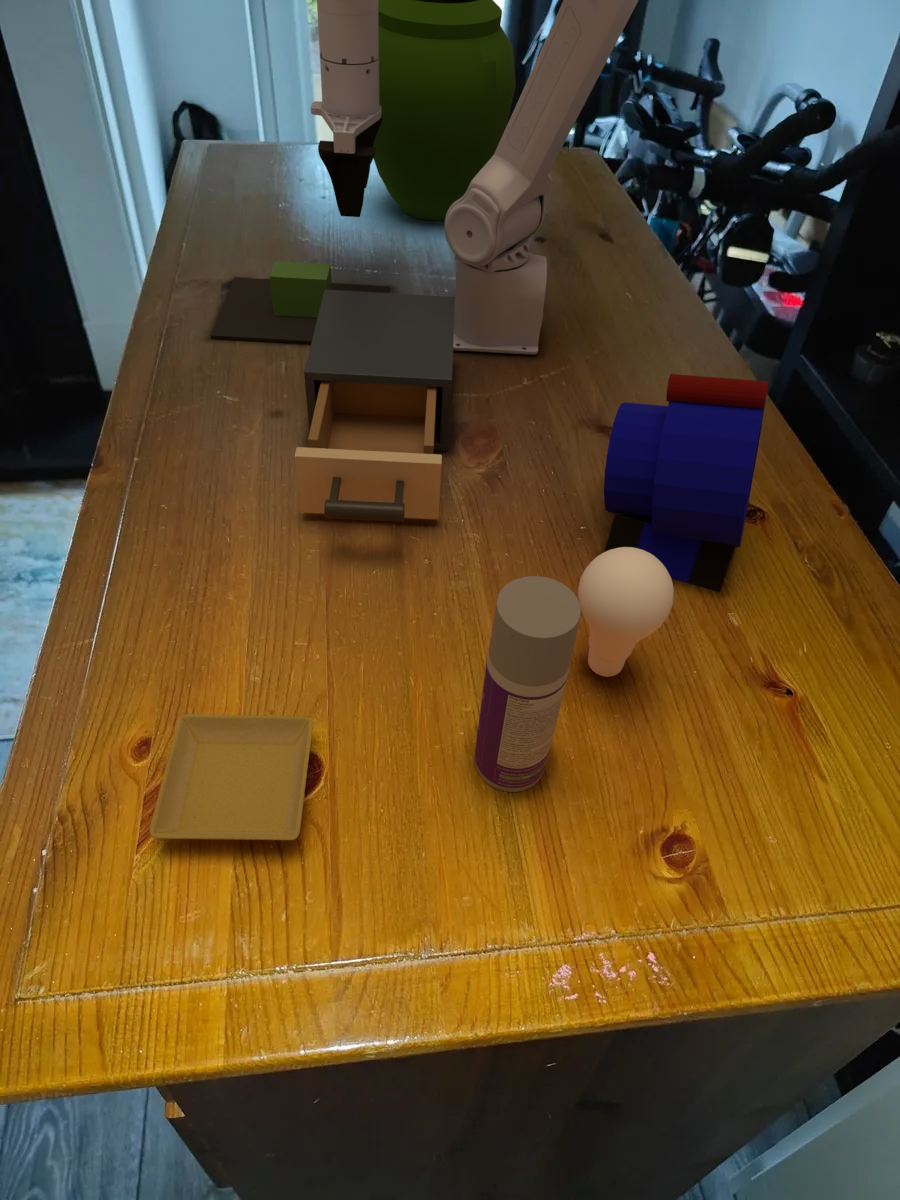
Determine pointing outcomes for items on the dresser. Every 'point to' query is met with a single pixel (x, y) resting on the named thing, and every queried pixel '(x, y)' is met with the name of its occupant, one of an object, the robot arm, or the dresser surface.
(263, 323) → the mat
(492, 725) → the container
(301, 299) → the block
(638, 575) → the lightbulb
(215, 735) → the saucer
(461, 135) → the vase
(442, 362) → the cabinet
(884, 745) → the dresser surface
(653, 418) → the alarm clock
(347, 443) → the drawer
